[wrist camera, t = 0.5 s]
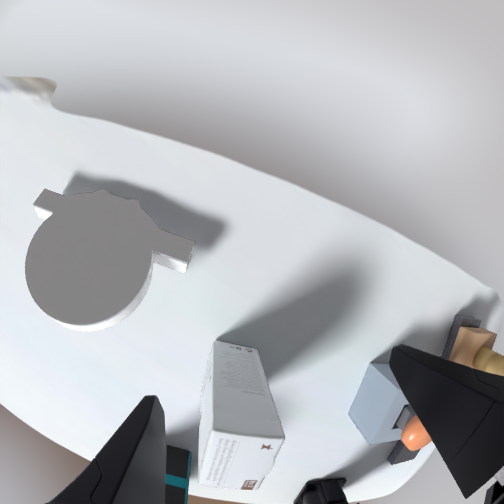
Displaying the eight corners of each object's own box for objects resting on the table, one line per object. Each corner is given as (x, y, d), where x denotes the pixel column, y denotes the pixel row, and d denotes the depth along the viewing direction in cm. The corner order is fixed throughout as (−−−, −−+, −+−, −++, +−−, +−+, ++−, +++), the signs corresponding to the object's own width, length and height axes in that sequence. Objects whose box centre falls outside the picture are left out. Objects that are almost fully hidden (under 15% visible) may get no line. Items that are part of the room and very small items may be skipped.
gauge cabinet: (394, 410, 27) (418, 435, 21) (347, 413, 26) (369, 445, 20) (415, 363, 26) (445, 384, 20) (369, 362, 26) (398, 389, 20)
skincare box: (212, 338, 24) (205, 426, 12) (260, 347, 24) (289, 435, 12) (200, 392, 24) (191, 485, 12) (244, 399, 25) (259, 493, 13)
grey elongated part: (205, 217, 22) (156, 325, 13) (186, 285, 26) (149, 385, 17) (60, 171, 20) (-25, 234, 11) (63, 237, 25) (2, 308, 15)
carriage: (467, 368, 26) (505, 391, 18) (443, 371, 25) (484, 398, 17) (482, 328, 25) (524, 345, 17) (460, 326, 25) (507, 347, 17)
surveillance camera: (122, 542, 13) (122, 515, 12) (138, 478, 24) (145, 437, 24) (171, 555, 13) (186, 532, 13) (178, 490, 25) (192, 451, 25)
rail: (409, 453, 29) (413, 458, 27) (387, 459, 28) (391, 465, 27) (474, 317, 27) (481, 320, 26) (455, 315, 27) (463, 318, 25)
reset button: (413, 428, 21) (430, 445, 17) (383, 433, 20) (400, 454, 17) (430, 395, 21) (450, 411, 17) (401, 399, 20) (422, 418, 16)
